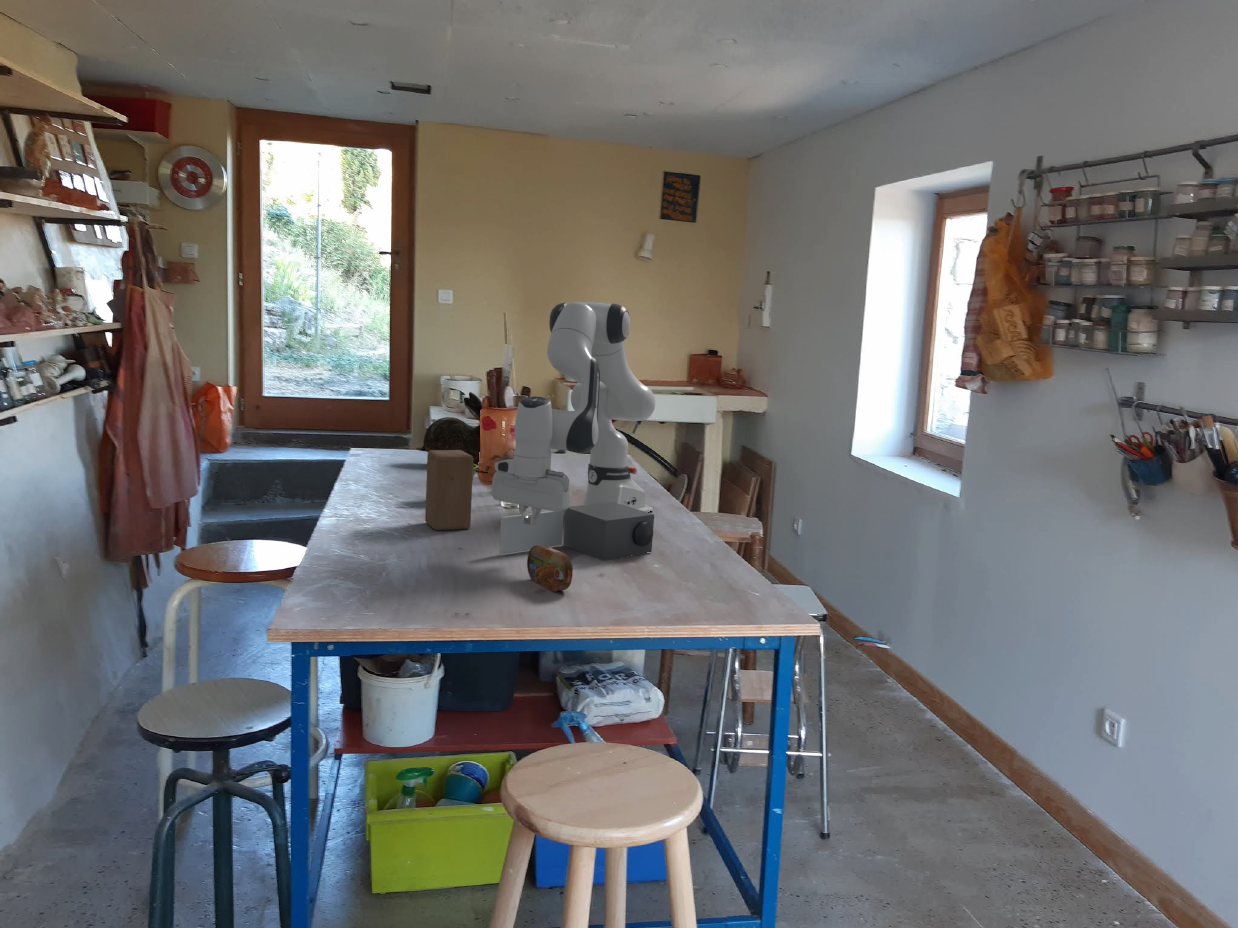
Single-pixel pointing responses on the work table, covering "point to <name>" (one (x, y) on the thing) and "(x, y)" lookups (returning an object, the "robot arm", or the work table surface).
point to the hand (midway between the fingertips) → (529, 524)
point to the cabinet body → (608, 530)
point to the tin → (549, 568)
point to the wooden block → (449, 489)
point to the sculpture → (456, 432)
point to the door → (530, 532)
